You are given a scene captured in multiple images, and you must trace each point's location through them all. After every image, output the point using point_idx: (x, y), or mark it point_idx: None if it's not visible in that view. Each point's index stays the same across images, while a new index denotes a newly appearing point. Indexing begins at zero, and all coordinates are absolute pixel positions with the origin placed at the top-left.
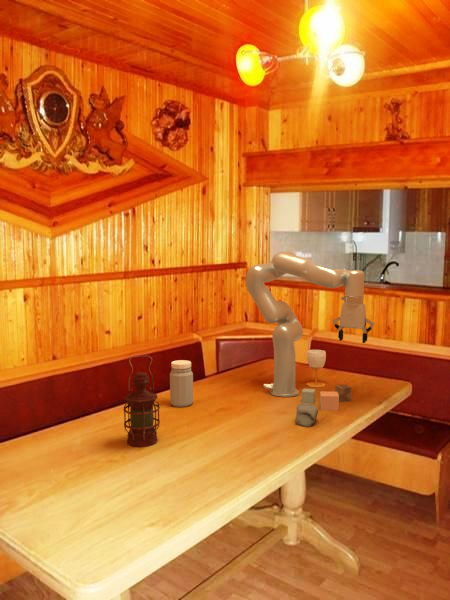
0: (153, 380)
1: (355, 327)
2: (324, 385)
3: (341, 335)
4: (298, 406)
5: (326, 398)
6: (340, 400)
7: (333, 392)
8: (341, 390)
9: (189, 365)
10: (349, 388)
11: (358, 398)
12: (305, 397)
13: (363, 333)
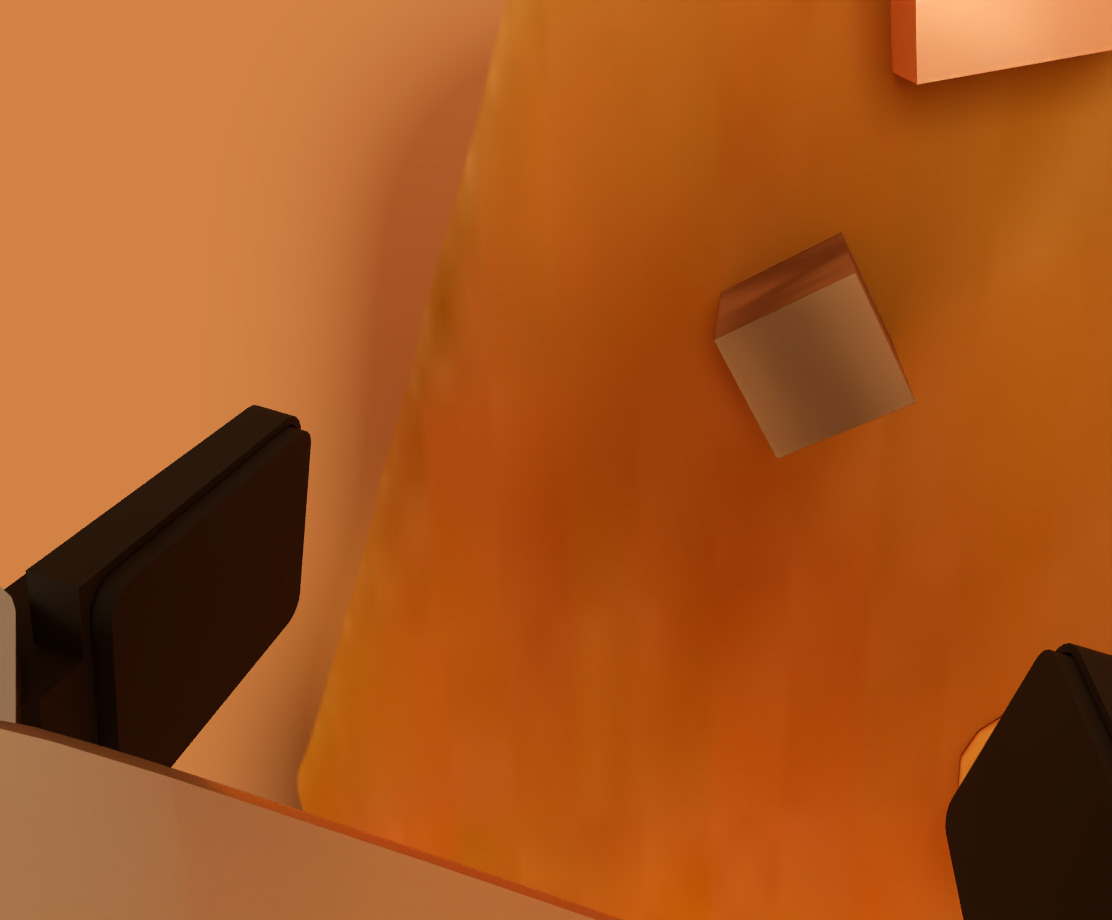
0: None
1: (257, 835)
2: (975, 748)
3: (1088, 805)
4: None
5: None
6: (843, 239)
7: (979, 26)
8: (842, 270)
9: None
10: (740, 323)
11: (648, 397)
12: None
13: (63, 584)
